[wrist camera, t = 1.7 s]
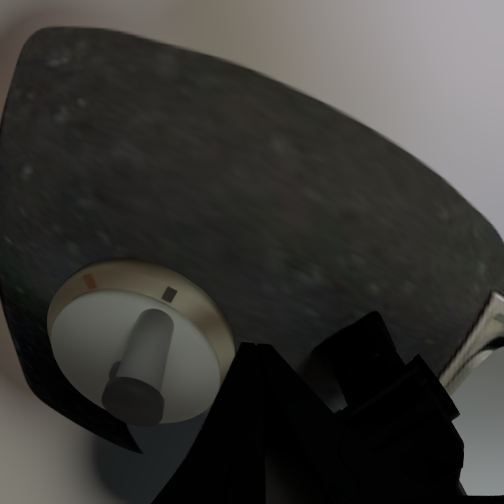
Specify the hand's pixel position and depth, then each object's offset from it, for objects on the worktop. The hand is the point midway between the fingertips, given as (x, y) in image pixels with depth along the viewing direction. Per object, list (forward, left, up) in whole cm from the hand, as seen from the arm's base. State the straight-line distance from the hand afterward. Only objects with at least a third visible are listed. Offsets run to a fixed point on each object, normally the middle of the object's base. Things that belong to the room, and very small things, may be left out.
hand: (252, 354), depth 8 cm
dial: (-4, +13, -10) cm, 17 cm away
